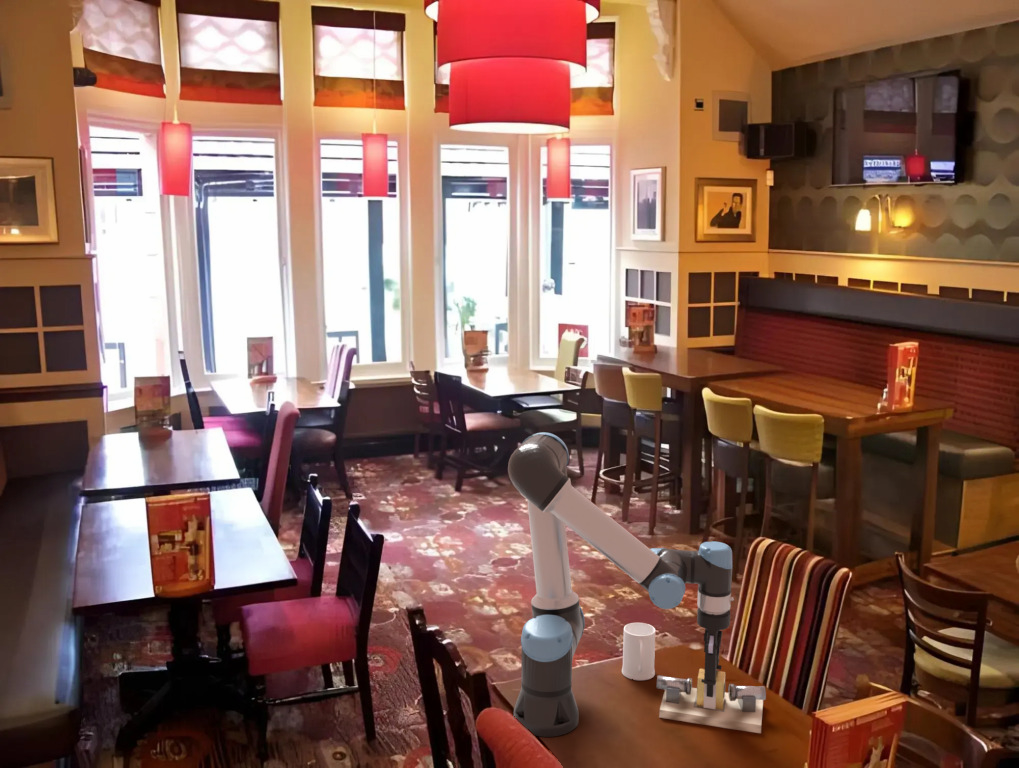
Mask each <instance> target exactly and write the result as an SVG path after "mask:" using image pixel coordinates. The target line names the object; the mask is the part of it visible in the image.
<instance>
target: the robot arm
mask: <svg viewBox="0 0 1019 768" xmlns="http://www.w3.org/2000/svg"><path fill="white" fill-rule="evenodd" d="M569 459H570V455H569V449H568V447H567V445H566V443H565V442H564V441H563V440H562V439H561V438H560V437H559V436H557V435H555V434H553V433H551V432H544V431H543V432H537V433H533V434H532V435H529V436H528V437H527V438H525V439H524V440H523V441H522V443H521V444H520V445H519V446H518V447H517V448H516V449H515V450H514V451H513V453H512V454H511V455H510V458H509V460H508V466H507V473H508V476H509V479H510V482H511V483H512V485H513V486H514V487H515V489H516V490H517V491H518V492H519V494H520V495H521V496H522V497H523V498H525V499H526V500H527V512H528V519H529V520H528V521H529V523H528V524H529V531H530V541H531V550H532V552H531V553H532V561H533V569H534V570H533V571H534V580H535V591H536V594H535V595H534V596H533V597H532V598H531V600H530V602H531V603H530V604H531V612H532V618H530V619H529V620H528V621H526V622H525V623H524V625H523V627H522V630H521V631H522V632H521V636H520V645H521V646H520V647H521V665H520V666H521V672H520V673H521V682H520V683H521V686H520V687H521V688H520V691H519V694H518V696H517V698H516V702H515V705H514V708H513V717H514V716H515V718H517V719H518V720H519V721H520V722H521V723H522V724H523V725H524V726H525V727H526V728H527V729H529V730H530V731H531V732H532V733H533V734H534V735H533V736H537V737H545V738H546V737H547V738H548V737H550V738H551V737H558V736H559V737H560V736H562V735H563V736H564V735H566V734H568V733H570V732H572V731H573V730H575V729H576V728H577V727H578V725H579V718H580V716H579V715H580V714H579V708H578V705H577V702H576V698H575V695H574V692H573V690H572V681H573V680H572V679H573V678H572V677H573V658H574V656H575V653H576V651H577V647H578V645H579V642H580V641H581V638H583V637H582V636H583V635H584V630H585V624H586V621H585V620H586V618H585V614H584V611H583V609H582V607H581V606H580V597H579V595H578V593H576V592H575V591H574V590H573V589H572V579H571V569H570V559H569V549H568V548H569V547H568V540H567V539H568V536H567V530H566V529H567V528H566V526H567V527H568V528H569V529H571V530H572V531H573V532H574V533H575V534H577V535H578V536H579V537H580V538H582V540H585V541H586V542H587V543H588V544H589V545H591V546H592V547H593V548H594V549H595V550H596V551H598V552H599V554H601V555H603V556H604V557H605V558H607V559H608V560H609V561H611V563H613V564H614V566H616V567H618V568H619V569H620V570H622V572H624V573H625V574H626V575H627V576H628V577H629V578H631V579H632V580H633V581H635V582H636V583H637V584H639V585H640V586H641V587H642V588H643V589H645V590H646V591H647V593H648V595H649V599H650V601H651V602H652V604H653V605H654V606H656V607H658V608H660V609H662V610H671V609H675V608H676V607H677V606H679V605H680V604H681V602H682V601H683V597H684V595H685V593H686V584H690V585H691V584H692V585H694V584H695V585H696V584H697V585H698V586H697V603H696V604H697V609H696V610H697V611H696V613H697V614H696V616H697V617H696V622H697V625H698V626H700V628H703V629H704V633H703V641H704V646H703V647H704V649H703V652H704V654H705V655H704V669H705V673H704V679H702V680H701V682H703V683H704V708H710V709H715V708H716V683H717V682H716V671H721V670H722V665H719V664H720V652H721V651H720V648H721V647H722V646H721V645H722V637H723V631H724V630H726V629H728V628H729V627H730V625H731V611H730V610H731V602H733V601H734V600H735V599H734V596H731V595H732V582H733V581H732V580H733V579H732V577H733V550H732V548H731V546H729V545H728V544H726V543H724V542H720V541H715V540H714V541H704V542H702V543H701V544H700V545H699V549H698V550H686V549H685V550H684V549H674V548H673V549H672V548H666V547H660V548H659V547H653V548H652V547H651V548H649V547H648V546H647V545H646V544H644V543H643V542H642V541H641V540H639V539H638V538H637V537H636V536H634V535H633V534H632V533H631V532H630V531H628V530H627V529H626V528H625V527H623V526H622V525H621V524H620V523H619V522H617V521H616V520H614V519H613V518H612V517H611V516H610V515H608V514H607V513H606V512H604V510H602V509H601V508H600V507H599V506H597V505H596V504H595V503H594V502H592V501H591V500H590V499H588V498H587V497H586V496H585V495H583V494H582V493H581V492H580V491H579V490H578V489H576V488H575V487H573V485H572V482H571V478H570V477H569V476H568V472H567V471H568V470H567V468H568V465H569Z"/></svg>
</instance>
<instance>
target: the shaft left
mask: <svg viewBox="0 0 1019 768" xmlns="http://www.w3.org/2000/svg"><path fill="white" fill-rule="evenodd" d="M656 677H657V679H656V689H659V690H664V691H665V690H666V702H669V703H676V704H679V701H680V697H681V692H685V693H686V695H691V690H692V688H693V678H692V677H687V678H679V677H673V676H672V677H671V676H665V675H657V676H656Z"/></svg>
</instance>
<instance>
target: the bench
mask: <svg viewBox="0 0 1019 768" xmlns="http://www.w3.org/2000/svg"><path fill="white" fill-rule="evenodd" d="M763 708H764V700H756V709H755V712H742V710H741V708H740V705H739V703H738V699H736V700H735V701H730V700H729V694H728V692H726V691H725V697H724V704H723V710H721V709H710V708H704V707H701V706H697V687H692V690H691V695H686V693H685V692H681V697H680V701H679V704H676V703H669V702H666V690H664V692H663V695H662V699H661V703H660V706H659V712H658V713H659V715H658V718H660V719H666V720H673V721H679V722H680V721H681V722H686V723H691V724H697V725H705V726H710V727H711V726H712V727H717V728H723V729H729V730H737V731H741V732H742V731H743V732H749V733H755V734H756V733H757V734H762V725H763V724H762V722H763V721H762V720H763V710H764V709H763Z"/></svg>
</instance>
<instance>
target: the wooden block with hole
mask: <svg viewBox="0 0 1019 768" xmlns="http://www.w3.org/2000/svg"><path fill="white" fill-rule="evenodd" d="M704 673H705V668H699V670H698V675H697V684H696V688H697V706H701V707H704V683H703V682H701V680H702V679H704ZM716 682H717V683H716V708H715V709H721V710H723V704H724V697H725V692H726V671H721V670H718V671H716Z"/></svg>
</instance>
